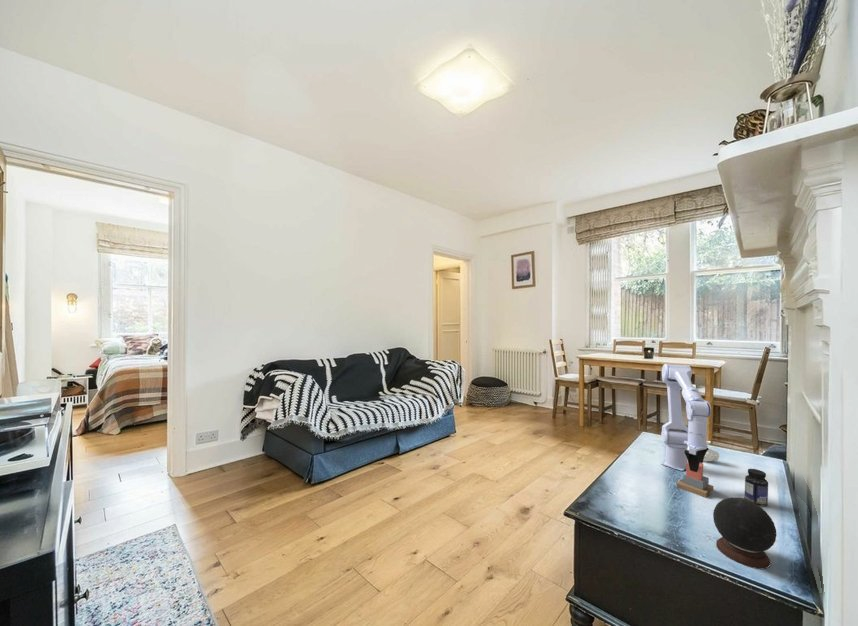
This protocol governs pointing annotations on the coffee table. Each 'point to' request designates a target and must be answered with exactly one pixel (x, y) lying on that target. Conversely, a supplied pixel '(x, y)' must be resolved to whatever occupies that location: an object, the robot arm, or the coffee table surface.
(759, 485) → the pill bottle
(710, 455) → the white lumpy piece
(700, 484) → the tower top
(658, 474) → the coffee table surface
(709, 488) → the tower base
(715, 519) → the black and brown oval
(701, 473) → the stack block
